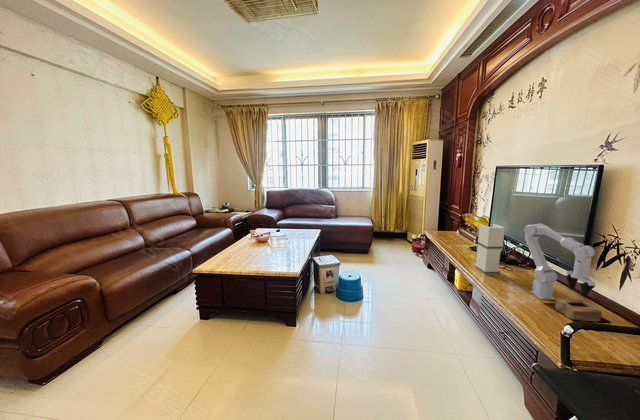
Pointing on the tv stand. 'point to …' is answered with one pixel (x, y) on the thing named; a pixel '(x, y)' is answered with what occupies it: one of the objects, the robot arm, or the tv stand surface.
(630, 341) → the tv stand surface
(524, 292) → the tv stand surface
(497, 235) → the stacked grey cubes
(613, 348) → the tv stand surface
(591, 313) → the box
